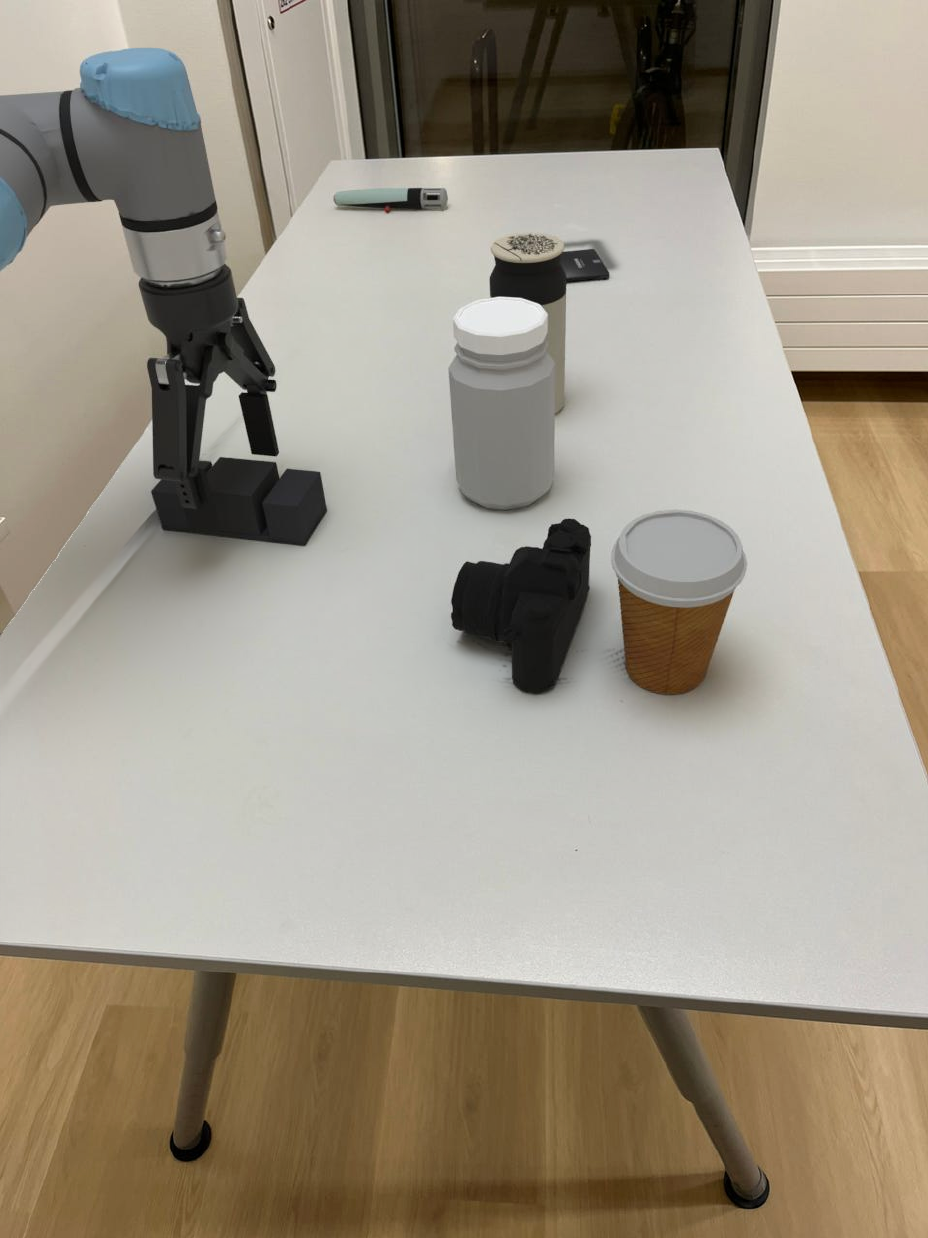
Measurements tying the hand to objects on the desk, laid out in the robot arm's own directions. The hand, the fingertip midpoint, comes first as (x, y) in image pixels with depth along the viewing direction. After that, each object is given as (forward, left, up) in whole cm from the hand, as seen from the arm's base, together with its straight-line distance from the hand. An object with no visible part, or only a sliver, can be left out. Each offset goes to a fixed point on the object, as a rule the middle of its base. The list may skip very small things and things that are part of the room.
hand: (237, 490), depth 91 cm
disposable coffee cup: (+42, -13, -4) cm, 44 cm away
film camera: (+30, -11, -4) cm, 32 cm away
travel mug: (+23, +27, -4) cm, 36 cm away
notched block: (0, 0, -4) cm, 4 cm away
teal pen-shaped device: (-14, +91, -4) cm, 92 cm away
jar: (+24, +10, -4) cm, 26 cm away
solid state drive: (+22, +68, -4) cm, 72 cm away
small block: (0, 0, -3) cm, 3 cm away
